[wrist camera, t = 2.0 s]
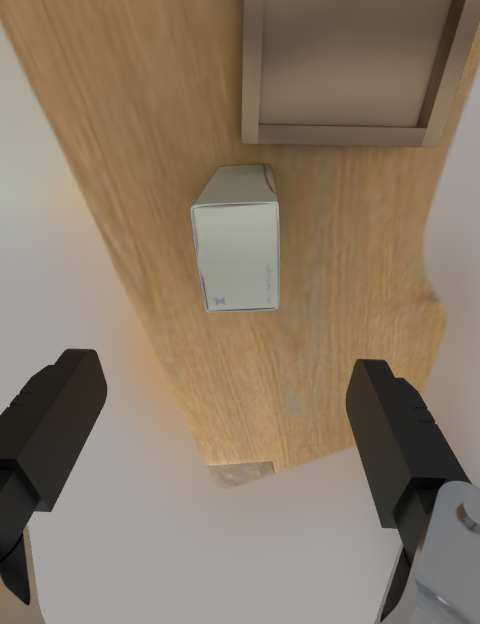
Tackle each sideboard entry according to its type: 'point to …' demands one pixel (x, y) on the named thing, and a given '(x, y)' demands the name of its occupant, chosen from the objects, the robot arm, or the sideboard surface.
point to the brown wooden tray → (353, 70)
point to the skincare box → (238, 240)
